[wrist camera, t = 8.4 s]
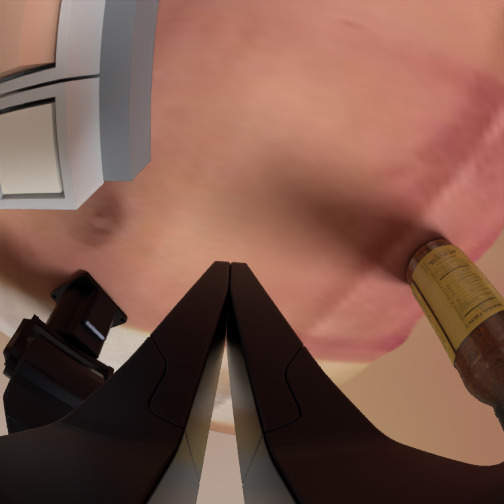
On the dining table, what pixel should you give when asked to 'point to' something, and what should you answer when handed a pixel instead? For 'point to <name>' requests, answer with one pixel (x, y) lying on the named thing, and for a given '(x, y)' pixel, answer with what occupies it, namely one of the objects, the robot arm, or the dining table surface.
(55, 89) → the panel
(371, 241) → the dining table surface
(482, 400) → the sauce bottle
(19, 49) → the middle button
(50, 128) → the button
